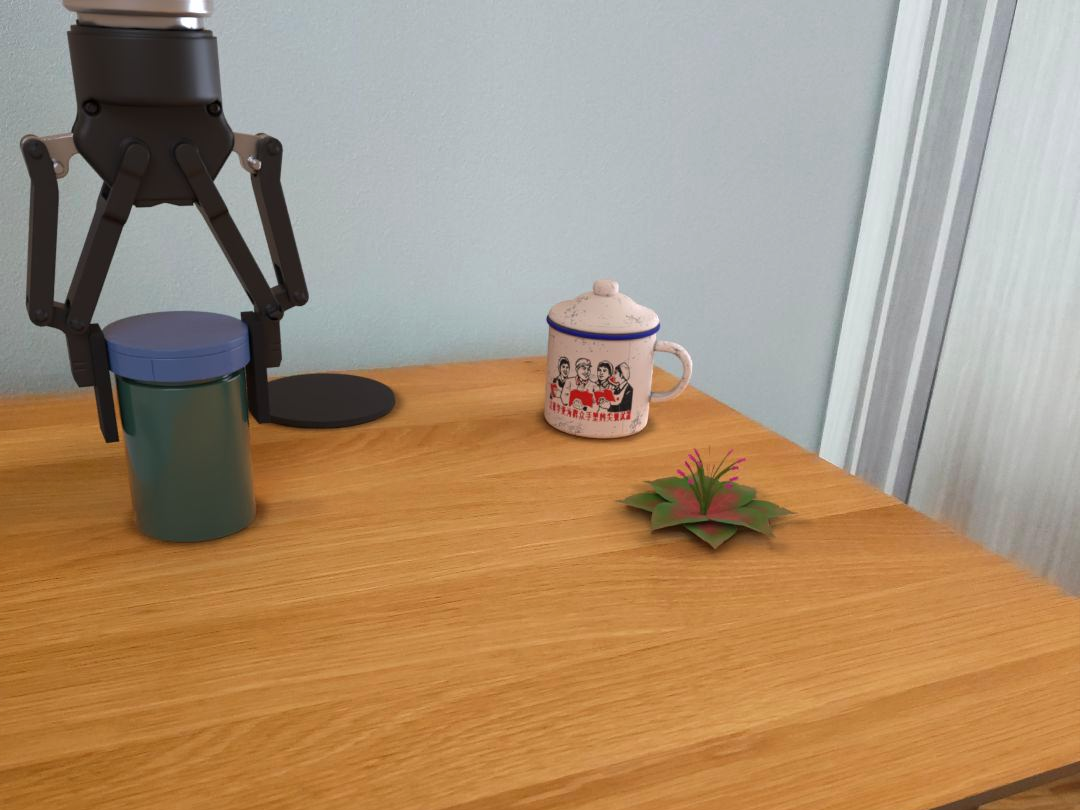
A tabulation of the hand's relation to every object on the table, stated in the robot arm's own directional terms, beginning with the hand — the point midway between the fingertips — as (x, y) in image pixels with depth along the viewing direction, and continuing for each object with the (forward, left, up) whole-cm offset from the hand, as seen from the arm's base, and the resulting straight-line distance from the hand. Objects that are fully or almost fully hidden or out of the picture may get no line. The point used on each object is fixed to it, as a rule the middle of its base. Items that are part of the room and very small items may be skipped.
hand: (186, 425), depth 66 cm
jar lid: (0, 0, +6) cm, 6 cm away
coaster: (-11, +20, -6) cm, 24 cm away
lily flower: (+24, +24, -7) cm, 34 cm away
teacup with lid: (+9, +34, -7) cm, 36 cm away
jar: (0, 0, -6) cm, 6 cm away
